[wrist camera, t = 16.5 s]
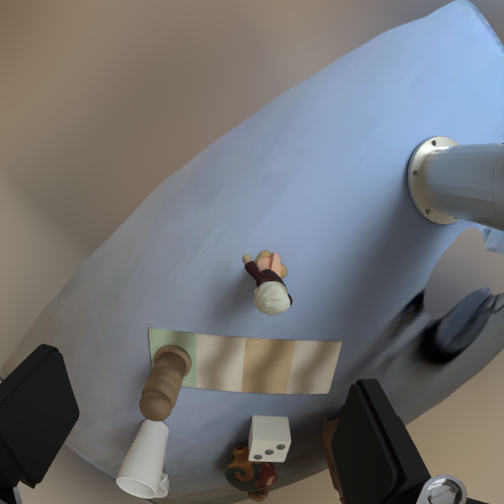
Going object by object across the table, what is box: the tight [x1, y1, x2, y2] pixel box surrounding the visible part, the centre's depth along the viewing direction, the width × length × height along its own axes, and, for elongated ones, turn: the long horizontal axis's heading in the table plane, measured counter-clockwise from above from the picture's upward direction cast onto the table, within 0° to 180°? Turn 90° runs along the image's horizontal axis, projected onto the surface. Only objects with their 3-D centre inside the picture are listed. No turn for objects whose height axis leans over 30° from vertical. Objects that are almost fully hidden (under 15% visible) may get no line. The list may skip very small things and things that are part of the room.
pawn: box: [140, 345, 192, 422], centre depth 36 cm, size 6×6×12 cm
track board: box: [149, 327, 342, 394], centre depth 42 cm, size 28×10×1 cm, turn 85°
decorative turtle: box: [225, 445, 277, 502], centre depth 45 cm, size 10×15×8 cm, turn 20°
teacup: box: [156, 472, 169, 498], centre depth 48 cm, size 10×8×5 cm
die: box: [249, 415, 291, 462], centre depth 43 cm, size 6×6×6 cm
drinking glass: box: [116, 419, 170, 498], centre depth 39 cm, size 7×7×15 cm
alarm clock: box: [321, 415, 345, 504], centre depth 36 cm, size 15×7×20 cm, turn 18°
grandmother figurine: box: [242, 250, 293, 316], centre depth 32 cm, size 8×4×13 cm, turn 55°
